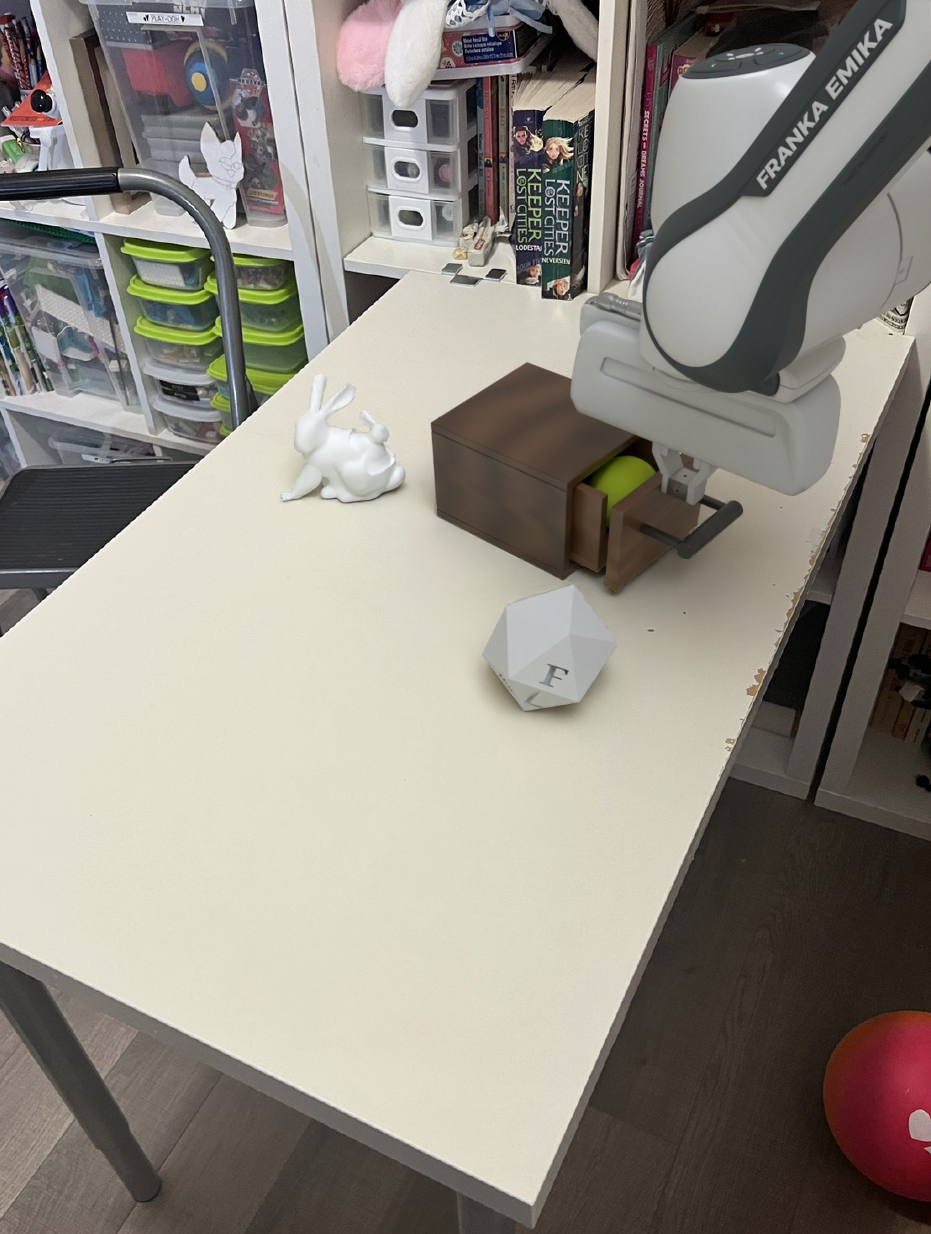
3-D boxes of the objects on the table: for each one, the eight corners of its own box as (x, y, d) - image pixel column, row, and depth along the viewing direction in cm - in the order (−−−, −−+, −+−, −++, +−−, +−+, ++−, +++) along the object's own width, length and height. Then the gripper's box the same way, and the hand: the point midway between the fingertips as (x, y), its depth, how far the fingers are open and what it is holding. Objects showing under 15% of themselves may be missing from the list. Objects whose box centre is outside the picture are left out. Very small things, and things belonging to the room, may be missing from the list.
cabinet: (652, 509, 91) (663, 412, 84) (563, 580, 86) (567, 483, 79) (526, 454, 99) (526, 361, 92) (436, 515, 94) (430, 422, 87)
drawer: (749, 547, 85) (765, 466, 80) (668, 618, 80) (679, 537, 75) (572, 470, 95) (575, 393, 89) (490, 529, 90) (488, 452, 84)
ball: (627, 505, 90) (676, 464, 86) (625, 555, 87) (676, 515, 82) (574, 471, 88) (622, 428, 83) (569, 521, 85) (619, 479, 80)
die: (462, 699, 79) (492, 676, 69) (494, 591, 80) (528, 553, 70) (566, 733, 79) (610, 715, 69) (596, 625, 81) (643, 593, 71)
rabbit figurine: (277, 502, 97) (258, 410, 90) (298, 457, 102) (281, 367, 95) (400, 507, 95) (391, 414, 88) (416, 461, 100) (408, 369, 93)
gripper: (556, 301, 74) (550, 467, 84) (819, 389, 63) (777, 567, 73) (609, 269, 76) (598, 433, 86) (871, 347, 66) (823, 524, 76)
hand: (682, 495), depth 80 cm, fingers closed
